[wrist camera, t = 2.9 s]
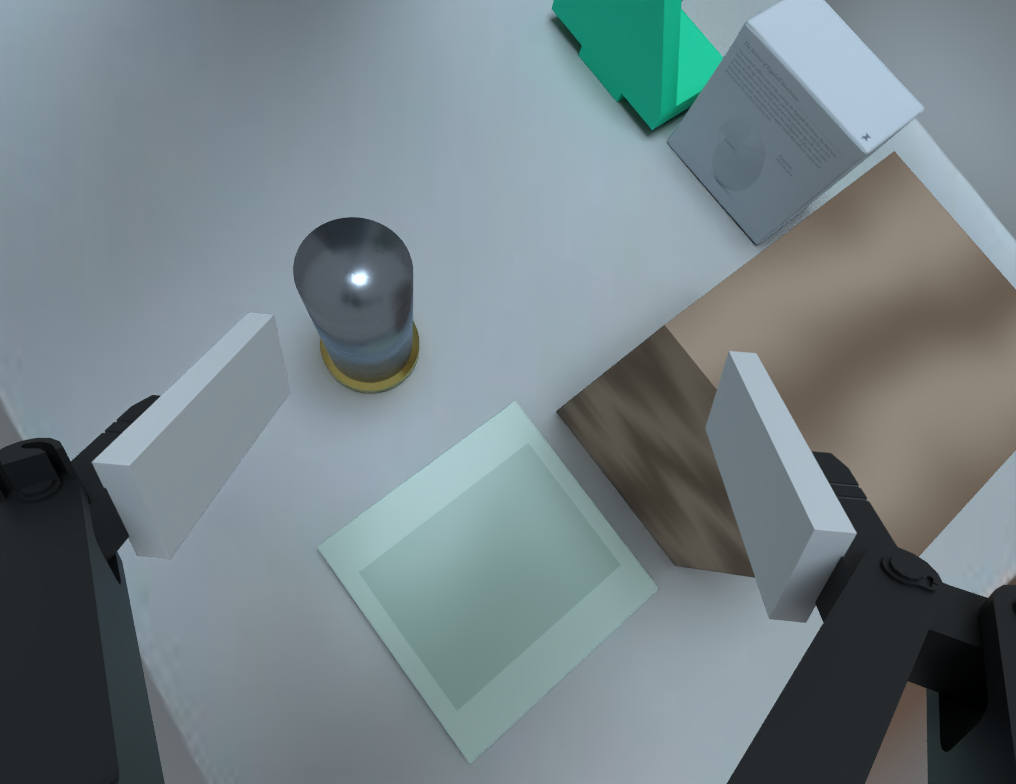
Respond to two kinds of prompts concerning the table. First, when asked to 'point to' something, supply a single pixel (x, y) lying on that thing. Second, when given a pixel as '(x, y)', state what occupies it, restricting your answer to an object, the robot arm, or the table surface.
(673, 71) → the camera mount
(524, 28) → the table surface
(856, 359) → the block
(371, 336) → the grey glass cylinder
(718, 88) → the skincare box
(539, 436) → the pad
